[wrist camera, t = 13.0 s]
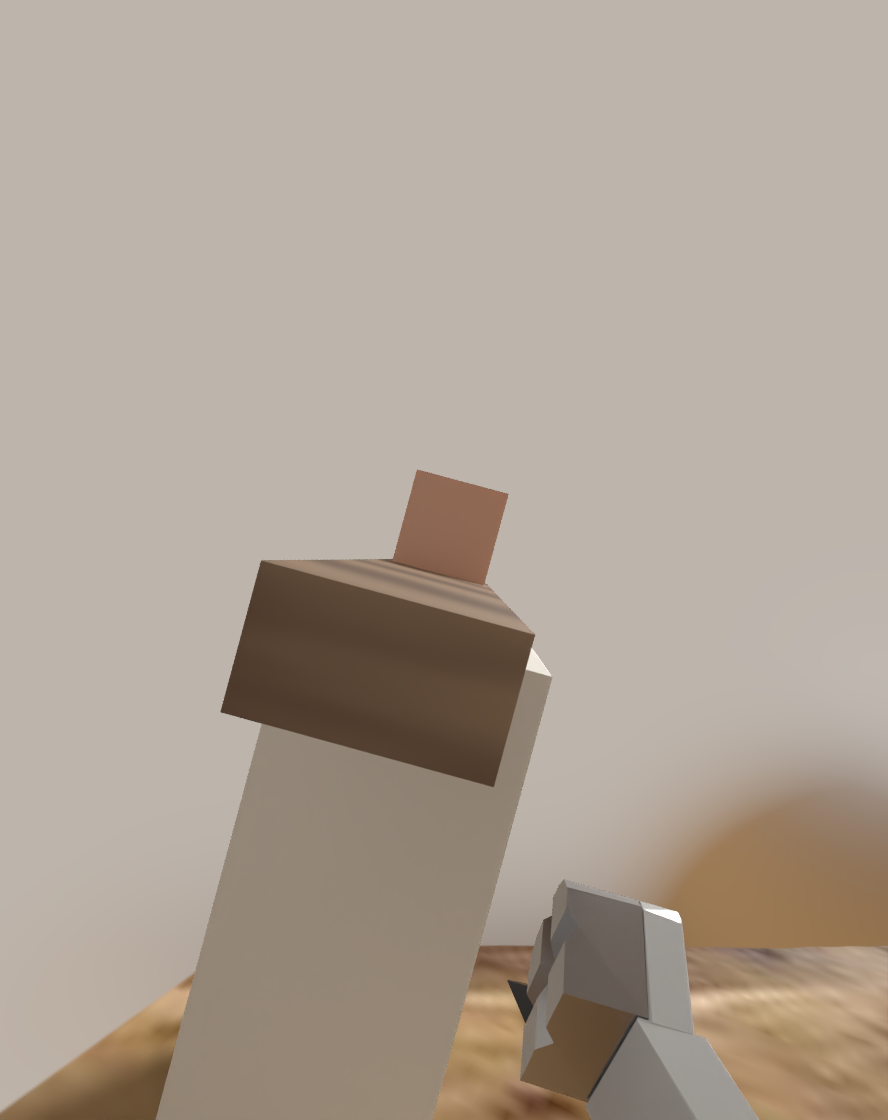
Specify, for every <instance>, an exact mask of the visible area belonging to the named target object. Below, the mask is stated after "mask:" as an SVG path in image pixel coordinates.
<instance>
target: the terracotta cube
mask: <svg viewBox="0 0 888 1120" xmlns="http://www.w3.org/2000/svg"><path fill="white" fill-rule="evenodd" d="M507 498H508V494H507V493H503V492H499V491H495V490H492V489H488V488H484V487H480V486H477V485H473V484H469V483H465V482H462V481H458V480H454V479H450V478H446V477H443V476H439V475H436V474H432V473H428V472H424V471H420V470H417V472H416V476H415V479H414V483H413V487H412V490H411V494H410V498H409V502H408V505H407V509H406V513H405V516H404V520H403V524H402V528H401V532H400V535H399V539H398V542H397V546H396V550H395V553H394V557H393V561H395V562H399V563H403V564H406V565H410V566H414V567H417V568H421V569H425V570H428V571H432V572H436V573H440V574H443V575H447V576H451V577H454V578H458V579H462V580H465V581H469V582H473V583H477V584H480V585H484V583H485V579H486V575H487V571H488V568H489V564H490V561H491V557H492V553H493V549H494V546H495V542H496V538H497V535H498V531H499V527H500V524H501V520H502V516H503V512H504V509H505V505H506V501H507Z"/></svg>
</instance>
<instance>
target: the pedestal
mask: <svg viewBox="0 0 888 1120" xmlns="http://www.w3.org/2000/svg"><path fill="white" fill-rule="evenodd" d="M551 680H552V676H551V674H550V673H549V671H548V670H547V668H546V667H545V666H544V664H543V663H542V661H541V660H540V659H539V657H538V656H537V654H536V653H535V652H534V650H533V649H532V648H531V652H530V655H529V659H528V663H527V666H526V670H525V674H524V678H523V681H522V685H521V689H520V692H519V696H518V700H517V703H516V707H515V711H514V714H513V718H512V722H511V726H510V729H509V733H508V737H507V740H506V744H505V748H504V751H503V755H502V759H501V763H500V766H499V770H498V774H497V777H496V781H495V785H494V787H491V786H487V785H483V784H480V783H476V782H472V781H469V780H465V779H461V778H458V777H454V776H451V775H447V774H443V773H440V772H436V771H432V770H429V769H425V768H422V767H418V766H414V765H411V764H407V763H403V762H400V761H396V760H392V759H389V758H385V757H382V756H378V755H374V754H371V753H367V752H363V751H360V750H356V749H353V748H349V747H345V746H342V745H338V744H334V743H331V742H327V741H323V740H320V739H316V738H313V737H309V736H305V735H302V734H298V733H294V732H291V731H287V730H284V729H280V728H276V727H273V726H269V725H265V724H262V725H261V729H260V732H259V736H258V740H257V743H256V747H255V751H254V754H253V758H252V762H251V766H250V769H249V773H248V777H247V781H246V784H245V788H244V792H243V795H242V800H241V803H240V807H239V810H238V814H237V818H236V822H235V825H234V829H233V833H232V836H231V840H230V844H229V848H228V851H227V855H226V859H225V863H224V866H223V870H222V874H221V878H220V881H219V885H218V889H217V893H216V896H215V900H214V903H213V907H212V911H211V915H210V918H209V922H208V926H207V930H206V933H205V937H204V941H203V945H202V948H201V952H200V956H199V960H198V963H197V967H196V970H195V974H194V978H193V982H192V985H191V989H190V993H189V997H188V1000H187V1004H186V1008H185V1011H184V1015H183V1019H182V1023H181V1026H180V1030H179V1034H178V1038H177V1041H176V1045H175V1049H174V1052H173V1056H172V1060H171V1064H170V1067H169V1071H168V1075H167V1079H166V1082H165V1086H164V1090H163V1093H162V1097H161V1101H160V1105H159V1108H158V1112H157V1116H156V1120H432V1119H433V1116H434V1112H435V1108H436V1105H437V1101H438V1097H439V1094H440V1090H441V1086H442V1083H443V1079H444V1075H445V1071H446V1068H447V1064H448V1060H449V1057H450V1053H451V1049H452V1046H453V1042H454V1038H455V1035H456V1031H457V1027H458V1023H459V1020H460V1016H461V1012H462V1009H463V1005H464V1001H465V998H466V994H467V990H468V987H469V983H470V979H471V975H472V972H473V968H474V964H475V961H476V957H477V953H478V950H479V946H480V942H481V939H482V934H483V931H484V927H485V924H486V920H487V916H488V913H489V909H490V905H491V902H492V898H493V894H494V891H495V886H496V883H497V879H498V876H499V872H500V868H501V865H502V861H503V857H504V854H505V850H506V846H507V842H508V839H509V835H510V831H511V828H512V824H513V820H514V817H515V813H516V809H517V806H518V802H519V798H520V795H521V791H522V787H523V784H524V780H525V776H526V773H527V769H528V765H529V761H530V758H531V754H532V750H533V746H534V743H535V739H536V735H537V732H538V728H539V724H540V721H541V717H542V713H543V710H544V706H545V702H546V699H547V695H548V691H549V688H550V684H551Z"/></svg>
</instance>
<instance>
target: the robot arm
mask: <svg viewBox="0 0 888 1120" xmlns="http://www.w3.org/2000/svg"><path fill="white" fill-rule="evenodd" d="M527 995H528V997H529V999H530V1001H531V1003H532V1005H533V1009H532V1011H531V1013H530V1015H529V1017H528V1020H527V1022H526V1024H525V1026H524V1033H523V1047H522V1061H521V1075H520V1080H521V1081H524V1082H527V1083H530V1084H533V1085H536V1086H539V1087H542V1088H545V1089H548V1090H551V1091H554V1092H557V1093H560V1094H563V1095H566V1096H569V1097H572V1098H575V1099H578V1100H581V1101H584V1102H587V1104H586V1108H587V1111H588V1113H589V1116H590V1118H591V1120H759V1119H758V1117H757V1116H756V1114H755V1113H754V1111H753V1110H752V1108H751V1106H750V1105H749V1103H748V1102H747V1100H746V1099H745V1097H744V1096H743V1094H742V1093H741V1091H740V1090H739V1088H738V1086H737V1085H736V1083H735V1082H734V1080H733V1079H732V1077H731V1076H730V1074H729V1073H728V1071H727V1070H726V1068H725V1066H724V1065H723V1063H722V1062H721V1060H720V1059H719V1057H718V1056H717V1054H716V1053H715V1051H714V1049H713V1048H712V1046H711V1045H710V1043H709V1042H708V1040H707V1039H706V1038H704V1037H701V1036H698V1035H695V1034H694V1026H693V1017H692V1008H691V999H690V990H689V981H688V972H687V963H686V954H685V946H684V936H683V928H682V920H681V918H680V916H679V914H678V912H676V911H672V910H669V909H665V908H662V907H659V906H655V905H652V904H648V903H644V902H641V901H637V900H635V899H632V898H628V897H625V896H621V895H618V894H614V893H611V892H607V891H603V890H600V889H596V888H593V887H589V886H586V885H582V884H579V883H574V882H571V881H568V880H563V881H562V882H561V884H560V885H559V886H558V888H557V891H556V893H555V895H554V897H553V909H552V916H550V917H549V918H546V919H544V920H543V922H542V925H541V927H540V930H539V932H538V935H537V937H536V941H535V945H534V949H533V952H532V956H531V961H530V968H529V974H528V985H527Z"/></svg>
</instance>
